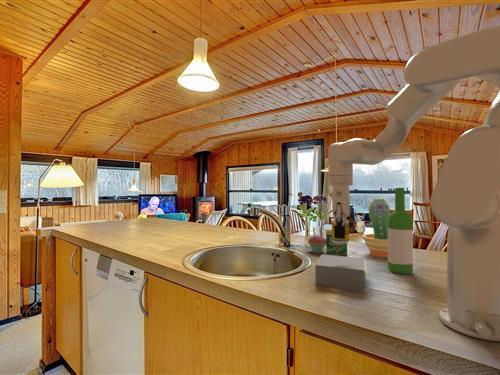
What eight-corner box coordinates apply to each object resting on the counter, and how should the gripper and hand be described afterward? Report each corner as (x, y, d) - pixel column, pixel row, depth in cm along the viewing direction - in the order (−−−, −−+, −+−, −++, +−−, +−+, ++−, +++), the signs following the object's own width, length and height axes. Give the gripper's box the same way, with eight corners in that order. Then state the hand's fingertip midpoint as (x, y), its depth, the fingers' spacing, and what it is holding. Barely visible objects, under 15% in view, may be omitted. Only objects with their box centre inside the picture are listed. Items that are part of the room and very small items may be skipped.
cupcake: (307, 253, 122) (307, 227, 122) (308, 248, 130) (308, 224, 130) (326, 254, 119) (326, 227, 119) (327, 250, 127) (326, 225, 127)
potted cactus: (354, 253, 121) (354, 198, 121) (374, 248, 129) (373, 197, 129) (388, 261, 108) (387, 199, 108) (407, 255, 117) (406, 198, 117)
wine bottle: (413, 276, 89) (412, 187, 89) (387, 272, 93) (386, 187, 93) (412, 270, 96) (412, 187, 96) (388, 267, 100) (388, 187, 100)
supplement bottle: (338, 239, 90) (338, 211, 90) (352, 242, 86) (352, 213, 86) (328, 241, 87) (328, 212, 87) (341, 244, 83) (341, 214, 83)
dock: (365, 291, 77) (365, 270, 77) (315, 284, 83) (315, 264, 83) (365, 276, 90) (365, 258, 90) (321, 271, 96) (321, 254, 96)
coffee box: (325, 262, 107) (325, 229, 107) (326, 260, 109) (326, 228, 109) (346, 265, 103) (346, 231, 103) (347, 263, 106) (347, 230, 106)
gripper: (351, 180, 77) (351, 242, 77) (353, 181, 93) (353, 233, 93) (325, 180, 80) (325, 240, 80) (331, 181, 96) (331, 231, 96)
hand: (340, 236), depth 87 cm, fingers closed on supplement bottle, 5 cm apart
